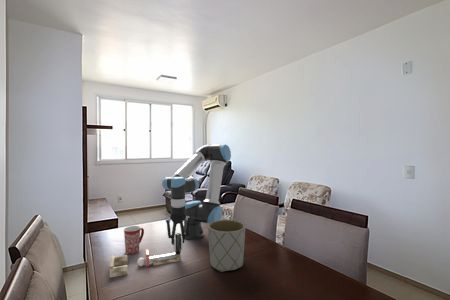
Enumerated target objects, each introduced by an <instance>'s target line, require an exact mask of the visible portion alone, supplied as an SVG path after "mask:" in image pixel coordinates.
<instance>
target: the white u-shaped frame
mask: <svg viewBox="0 0 450 300" xmlns="http://www.w3.org/2000/svg"><path fill="white" fill-rule="evenodd" d="M175 238H176V251H174V252H171V253H165V254H159V255H156V256H155V255H152V256H150V252H149V249H145V260H146V262H145V265H146V268H149V267H150V263H152V262H153V259H156V258H157V261H161V260H167V259H172V258H177V255H179V254H181V253H182V250H181V232H180V233H175Z"/></svg>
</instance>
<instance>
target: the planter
mask: <svg viewBox="0 0 450 300" xmlns="http://www.w3.org/2000/svg"><path fill="white" fill-rule="evenodd" d="M207 230H208V231H207V232H208V233H207V234H208V249H209V262H210V266H211V267H212V268H213V269H215V270H216V271H218V272H221V273H224V272H228V271H235V270H237V269H240V268H243V265H244V257H245V256H244V255H245V253H244V252H245V241H246V224H245V223H244V222H241V221H238V220H233V219H220V220H219V221H214V222H212V223H210V224H208V226H207Z"/></svg>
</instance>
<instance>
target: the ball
mask: <svg viewBox="0 0 450 300" xmlns="http://www.w3.org/2000/svg"><path fill="white" fill-rule="evenodd" d="M136 261H137V262H136V263H137V266H140V267H143V266H145V265H146V257H139V258H138V259H137V260H136Z"/></svg>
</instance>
